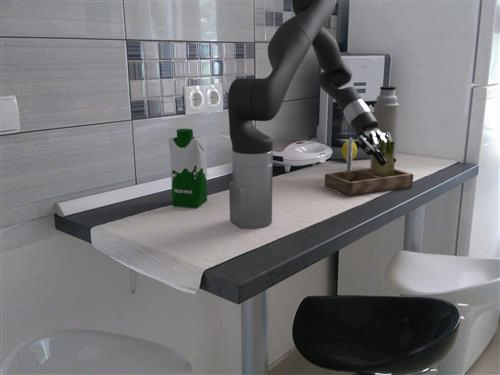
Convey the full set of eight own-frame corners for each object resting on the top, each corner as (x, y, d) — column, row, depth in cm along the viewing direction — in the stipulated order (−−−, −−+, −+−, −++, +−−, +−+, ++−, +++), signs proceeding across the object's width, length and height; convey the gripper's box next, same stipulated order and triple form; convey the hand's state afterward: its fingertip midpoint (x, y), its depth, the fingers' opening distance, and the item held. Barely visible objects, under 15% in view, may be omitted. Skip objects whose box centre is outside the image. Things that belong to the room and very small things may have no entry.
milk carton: (168, 207, 129) (164, 130, 124) (181, 197, 138) (179, 125, 133) (199, 209, 127) (197, 131, 122) (211, 200, 135) (210, 126, 130)
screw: (351, 180, 156) (337, 177, 159) (359, 177, 160) (345, 175, 163) (353, 139, 153) (339, 137, 156) (361, 137, 156) (347, 135, 159)
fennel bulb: (369, 177, 151) (372, 138, 148) (380, 175, 154) (383, 137, 151) (384, 181, 146) (388, 141, 143) (395, 179, 149) (399, 139, 146)
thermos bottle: (374, 166, 175) (379, 85, 168) (397, 168, 171) (403, 86, 164) (366, 170, 169) (372, 86, 161) (390, 173, 165) (396, 87, 157)
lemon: (355, 160, 185) (356, 138, 183) (357, 163, 180) (358, 141, 178) (340, 159, 186) (341, 138, 184) (341, 163, 181) (342, 141, 178)
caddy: (349, 197, 138) (350, 183, 137) (324, 186, 148) (325, 173, 147) (412, 187, 148) (413, 174, 147) (384, 178, 158) (385, 166, 157)
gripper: (351, 111, 146) (381, 159, 140) (383, 108, 155) (412, 153, 148) (337, 127, 152) (365, 173, 146) (368, 123, 160) (396, 167, 154)
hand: (389, 163), depth 147 cm, fingers closed on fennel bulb, 3 cm apart
